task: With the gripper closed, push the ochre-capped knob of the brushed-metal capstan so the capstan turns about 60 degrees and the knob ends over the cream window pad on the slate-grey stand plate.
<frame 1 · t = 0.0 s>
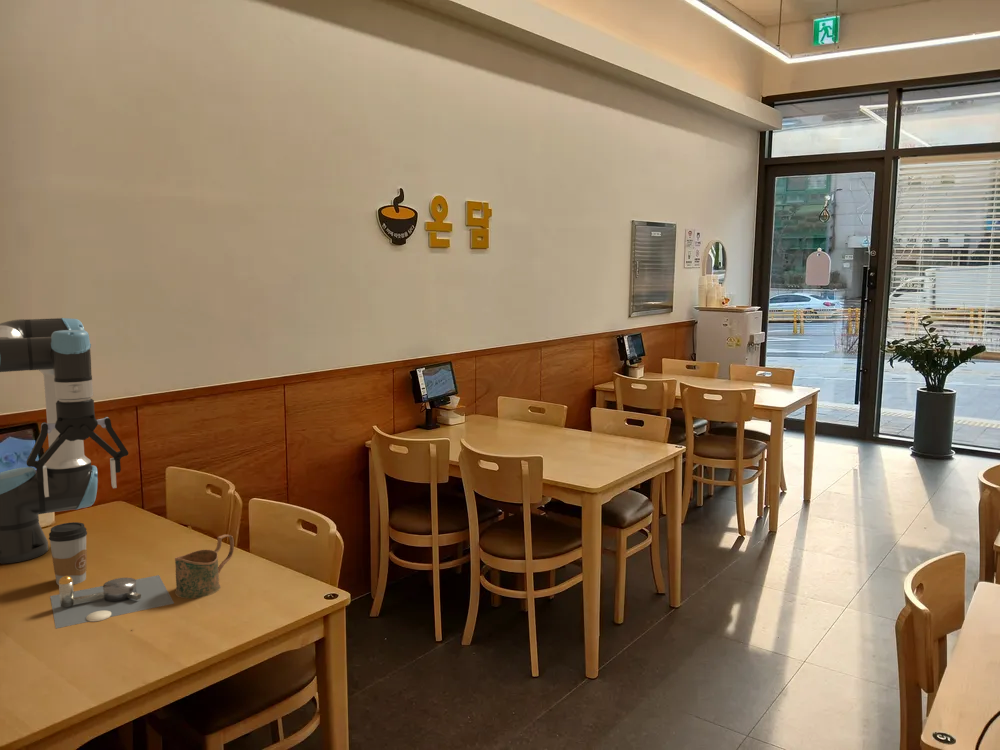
hand: (81, 491, 177), 28 cm above the table, fingers open, 13 cm apart
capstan: (99, 584, 181), point 5 cm above the table, hinge at 0.0°
coffee cup: (71, 585, 194), on the table
mug: (207, 590, 191), on the table
stand plate: (111, 604, 183), on the table
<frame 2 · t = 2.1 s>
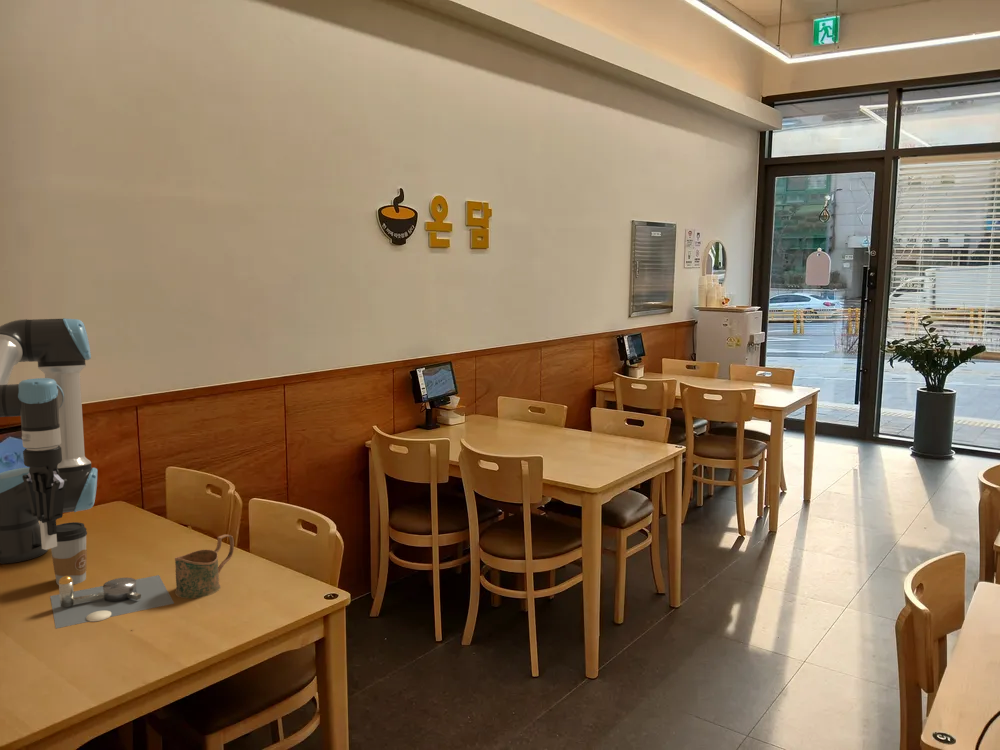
hand: (49, 547, 179), 15 cm above the table, fingers closed
nothing on the table moved.
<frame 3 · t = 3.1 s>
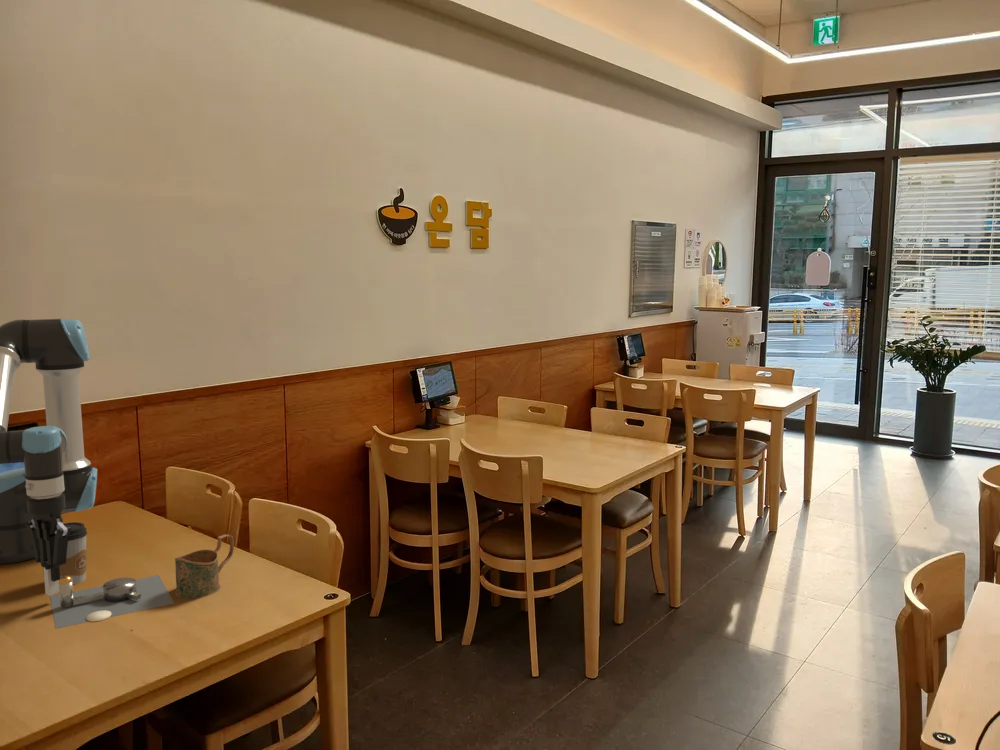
hand: (53, 593, 180), 4 cm above the table, fingers closed
nothing on the table moved.
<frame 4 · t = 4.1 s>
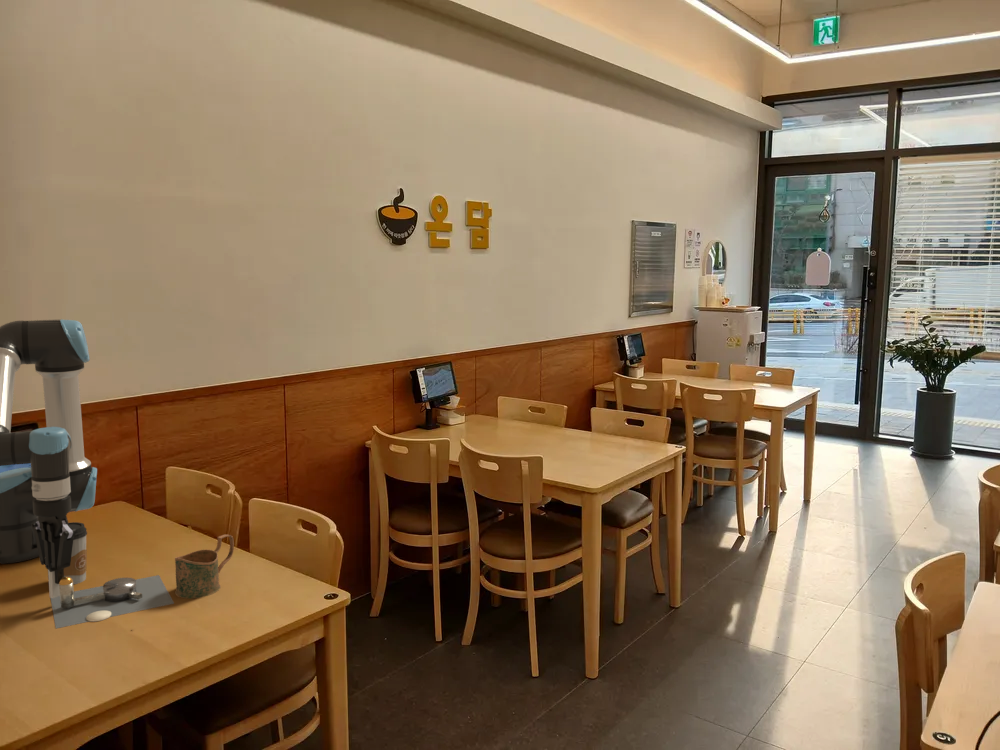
hand: (57, 595, 179), 4 cm above the table, fingers closed
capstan: (99, 585, 181), point 5 cm above the table, hinge at 3.4°, touching gripper
everything else where it was.
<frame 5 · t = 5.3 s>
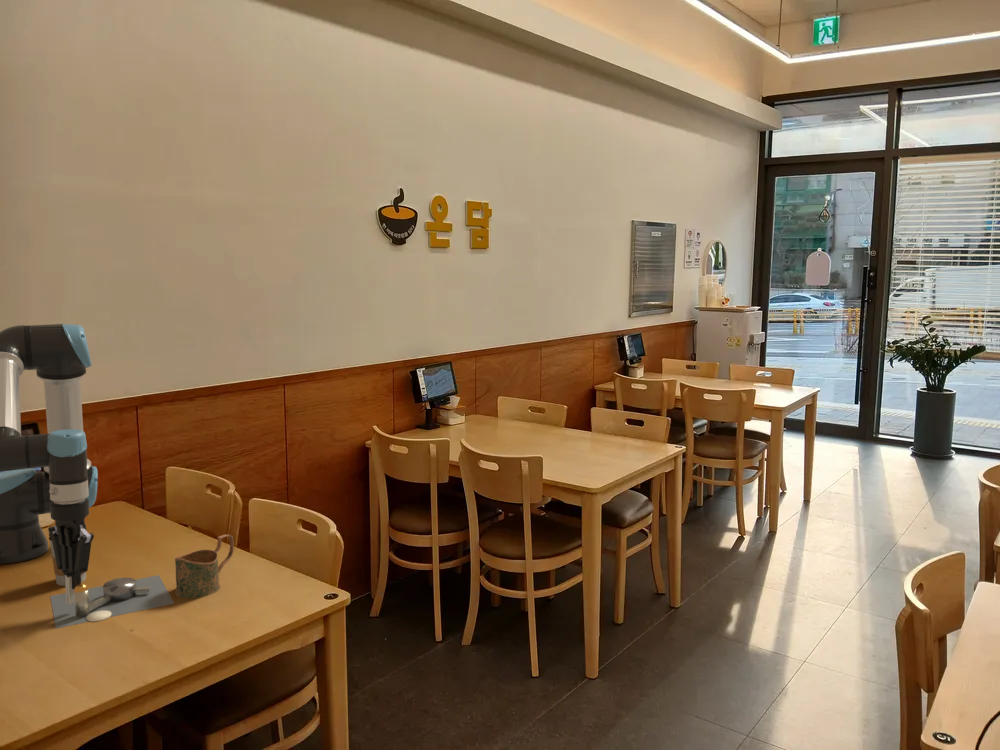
hand: (73, 601, 175), 4 cm above the table, fingers closed
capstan: (105, 587, 180), point 5 cm above the table, hinge at 39.7°, touching gripper
everything else where it was.
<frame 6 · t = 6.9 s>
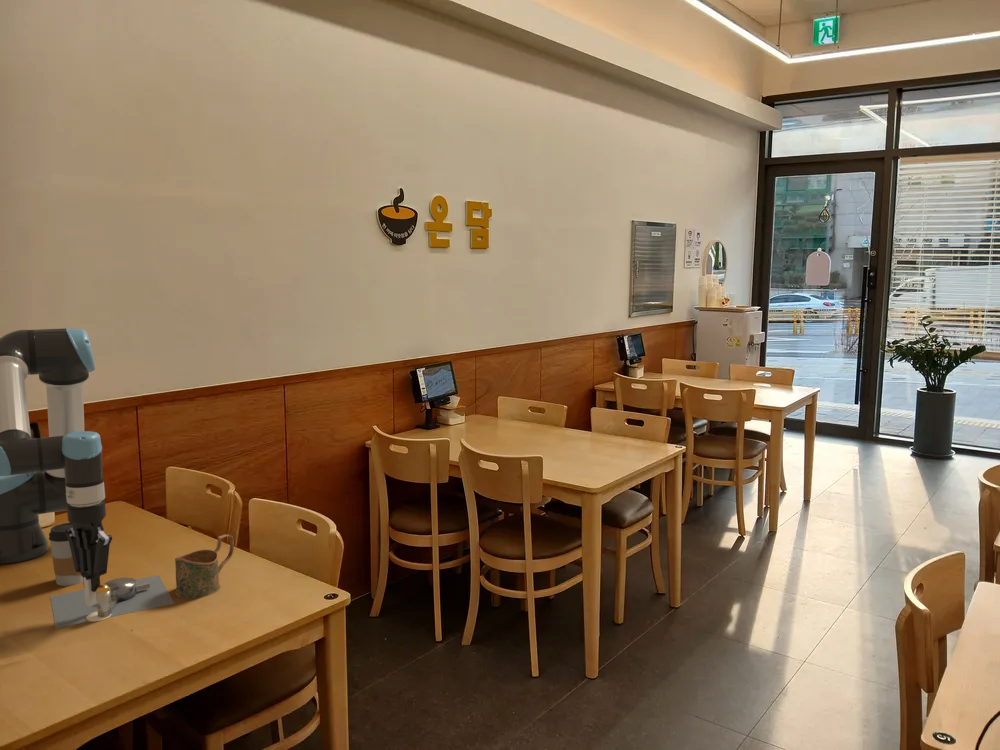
hand: (93, 603, 174), 4 cm above the table, fingers closed
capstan: (113, 588, 180), point 5 cm above the table, hinge at 66.4°, touching gripper
everything else where it was.
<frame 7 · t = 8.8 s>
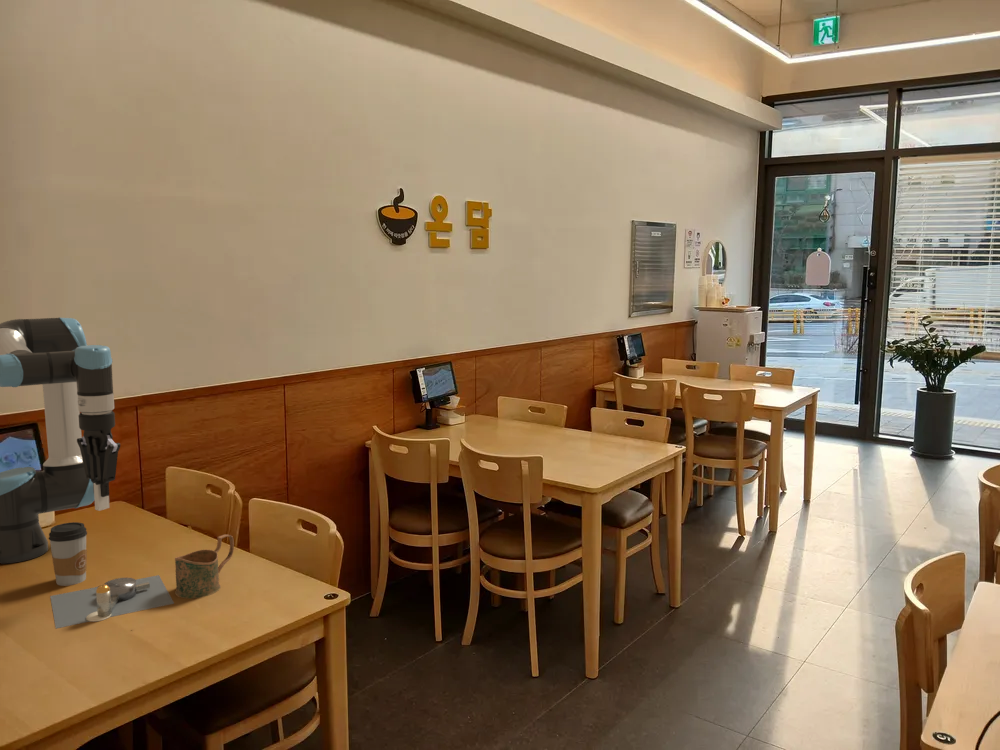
hand: (102, 508, 185), 22 cm above the table, fingers closed
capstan: (113, 588, 180), point 5 cm above the table, hinge at 66.5°
everything else where it was.
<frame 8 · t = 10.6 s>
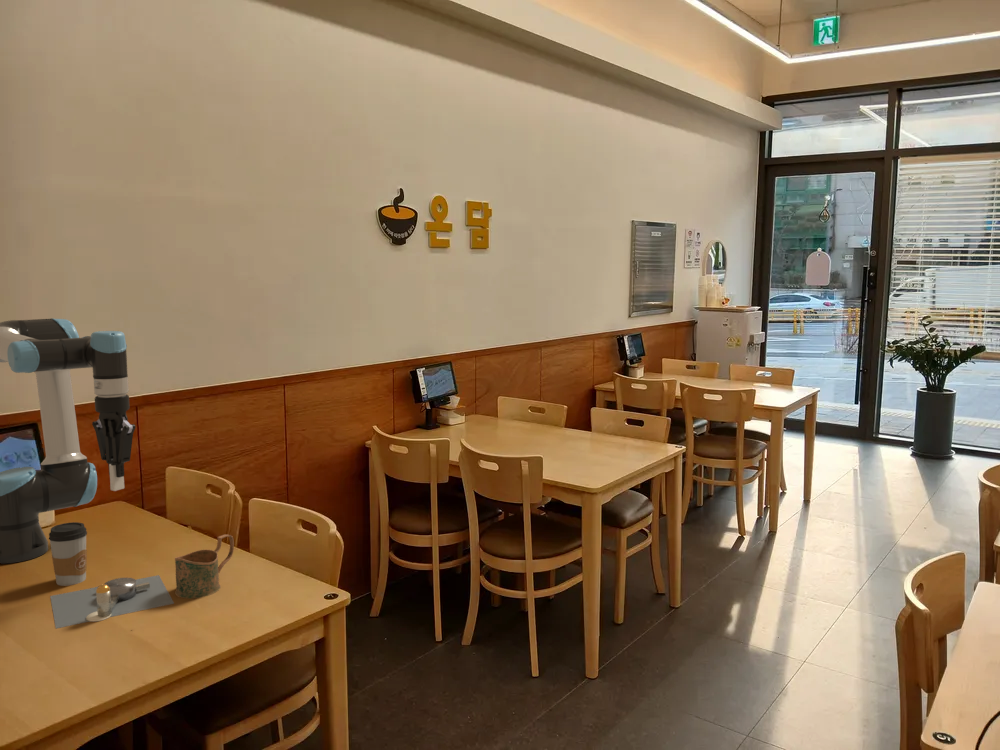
hand: (117, 489, 191), 24 cm above the table, fingers closed
nothing on the table moved.
at the end: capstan at +66° (first picture: +0°); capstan touching nothing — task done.
